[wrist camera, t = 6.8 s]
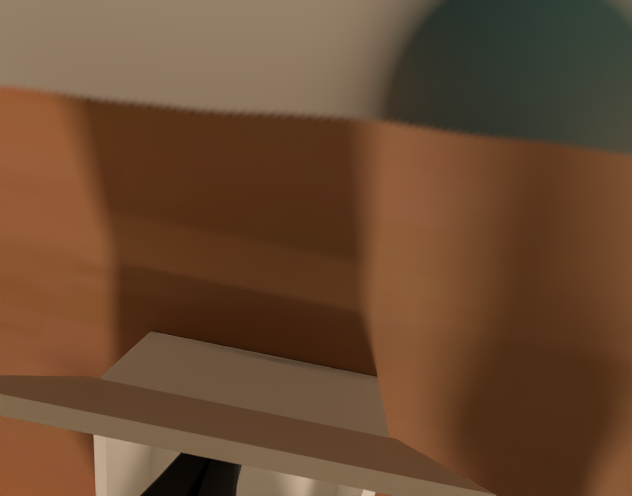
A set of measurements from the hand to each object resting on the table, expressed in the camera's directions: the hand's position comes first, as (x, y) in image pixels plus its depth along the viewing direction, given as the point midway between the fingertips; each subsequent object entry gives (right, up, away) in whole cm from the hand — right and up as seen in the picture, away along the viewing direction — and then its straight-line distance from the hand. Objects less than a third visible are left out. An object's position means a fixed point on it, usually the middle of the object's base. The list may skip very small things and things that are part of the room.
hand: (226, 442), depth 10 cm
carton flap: (0, +1, -1) cm, 1 cm away
